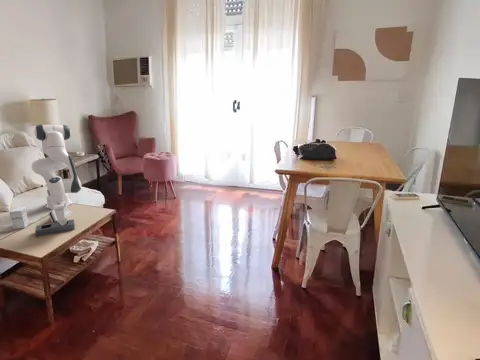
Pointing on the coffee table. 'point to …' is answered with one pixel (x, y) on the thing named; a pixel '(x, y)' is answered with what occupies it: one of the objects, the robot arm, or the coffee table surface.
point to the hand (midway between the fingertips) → (63, 222)
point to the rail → (54, 228)
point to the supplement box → (19, 217)
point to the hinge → (54, 217)
